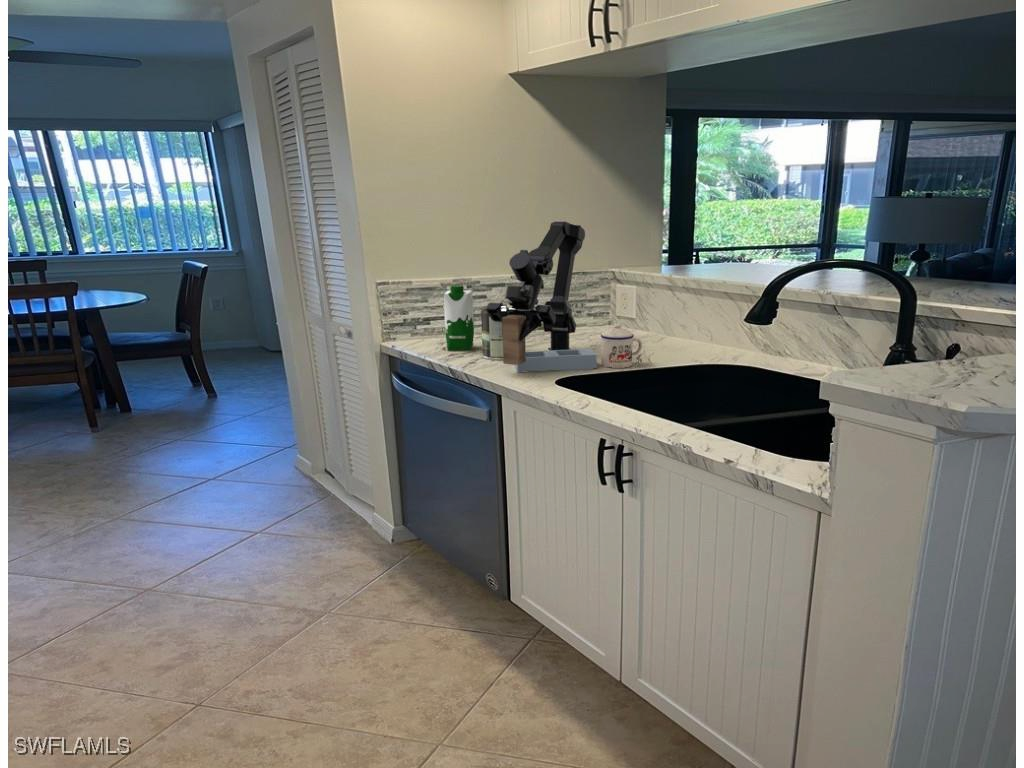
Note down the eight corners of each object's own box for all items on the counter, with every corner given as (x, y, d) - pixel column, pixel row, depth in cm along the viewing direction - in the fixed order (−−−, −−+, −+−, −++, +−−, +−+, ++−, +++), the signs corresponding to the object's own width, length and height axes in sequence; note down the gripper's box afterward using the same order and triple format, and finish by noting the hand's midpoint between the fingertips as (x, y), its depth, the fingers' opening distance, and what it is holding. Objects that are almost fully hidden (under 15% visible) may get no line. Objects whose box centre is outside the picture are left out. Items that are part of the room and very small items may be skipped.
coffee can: (475, 358, 228) (473, 311, 225) (494, 351, 237) (492, 306, 233) (504, 361, 223) (503, 313, 220) (522, 354, 232) (521, 308, 228)
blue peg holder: (517, 372, 210) (517, 358, 209) (514, 365, 217) (514, 352, 216) (596, 368, 212) (596, 354, 211) (590, 362, 220) (590, 348, 219)
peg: (510, 360, 209) (509, 314, 206) (525, 361, 207) (524, 315, 204) (503, 363, 205) (502, 317, 202) (518, 365, 203) (517, 318, 200)
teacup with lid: (607, 370, 210) (608, 328, 207) (595, 362, 219) (596, 322, 216) (648, 366, 213) (649, 325, 210) (634, 359, 222) (635, 319, 219)
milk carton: (444, 351, 239) (441, 287, 234) (449, 345, 247) (446, 283, 242) (472, 351, 238) (469, 287, 233) (476, 345, 246) (474, 283, 241)
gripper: (487, 272, 208) (469, 319, 201) (551, 274, 200) (534, 324, 193) (501, 297, 217) (484, 343, 210) (562, 300, 209) (547, 348, 202)
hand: (511, 339), depth 203 cm, fingers closed on peg, 4 cm apart
